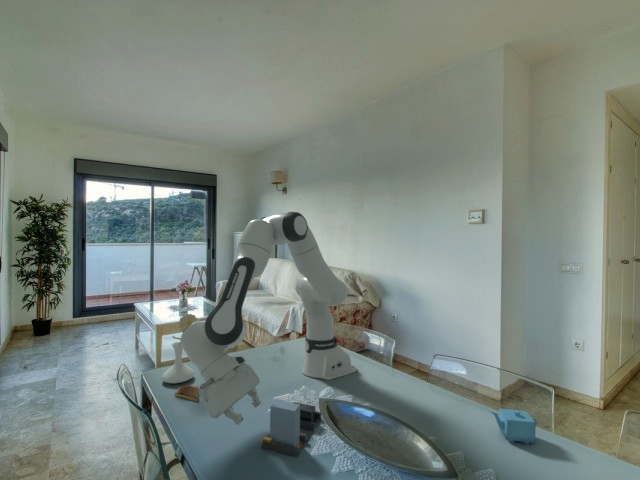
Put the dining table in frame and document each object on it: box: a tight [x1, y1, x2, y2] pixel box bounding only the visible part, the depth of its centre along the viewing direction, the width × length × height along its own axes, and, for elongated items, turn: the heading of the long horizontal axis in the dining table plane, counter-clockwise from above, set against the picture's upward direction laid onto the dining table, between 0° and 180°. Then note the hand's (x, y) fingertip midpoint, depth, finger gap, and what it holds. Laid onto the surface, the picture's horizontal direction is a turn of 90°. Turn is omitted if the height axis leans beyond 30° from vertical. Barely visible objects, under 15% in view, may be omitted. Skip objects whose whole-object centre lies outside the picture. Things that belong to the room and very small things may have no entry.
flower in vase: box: [161, 313, 200, 384], centre depth 129 cm, size 13×11×25 cm
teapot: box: [490, 408, 538, 445], centre depth 94 cm, size 12×6×8 cm, turn 79°
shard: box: [174, 385, 200, 402], centre depth 116 cm, size 11×8×2 cm
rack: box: [261, 401, 323, 458], centre depth 95 cm, size 10×19×4 cm, turn 160°
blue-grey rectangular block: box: [269, 399, 300, 446], centre depth 90 cm, size 7×4×10 cm, turn 70°
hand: (250, 413), depth 93 cm, fingers open, 8 cm apart
